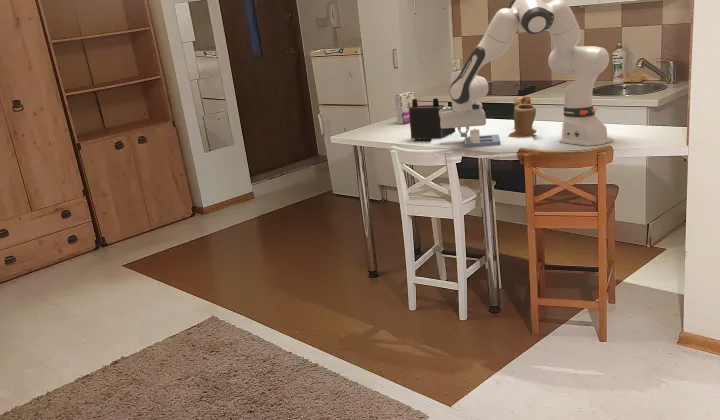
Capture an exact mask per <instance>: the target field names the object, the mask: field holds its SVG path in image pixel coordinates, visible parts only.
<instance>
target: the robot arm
mask: <svg viewBox="0 0 720 420" xmlns="http://www.w3.org/2000/svg"><path fill="white" fill-rule="evenodd" d="M521 28H522V29H523V30H524V31H525V32H526V33H527V34H530V35H537V34H538V35H539V34H541V33H542V32H545V31H546V30H548V33H549V35H550V37H551V39H552V41H553V45H554V49H553V50H552V51H551V52H550V54H549V56H548V60H547V62H548V63H547V64H548V67H549V68H550V70H551V71H552V72H554V73H558V74H568V75H569V74H573V75H574V74H576V75H575V79H574V81H573V82H571V83H568V85H567V86H566V87H565V89H564V107H563V116H564V119H563V122H562V129H561V137H560V140H559V143H562V144H563V143H564V144H570V145H579V146H586V147H590V146H598V145H604V144H605V145H606V144H608V143H611V142H614V138H613V137H610V136H608V130H607V126H606V125H605V124H604V123H603V122H602V121H601V120H600V119H599V118H598V117H597V116H596V112H597V108H594V105H593V89H594V86H595V82H596V80H597V78H598V77H599V75H600V74H602V72H604V71H605V70H606V69H607V67H608V65H609V62H610V55H609V52H608V50H607V49H606V48H604V47H600V46H594V45H588V46H587V45H585V46H577V44H578V43H579V42H580V41H581V39H582V30H581V28H580V26H579V23H578V21H577V18H576V16H575V14H574V12H573V10H572V9H571V7H570V6H569V5H568V3H567V2H566V1H564V0H551V1H549V2H544V1H543V0H512V1H511V2H510V4H509V7H508V8H507V7H504V8H503V7H502V8H500V9H498V10H497V11H496V13H495V15H493V17H492V19H491V21H490V22H489V25H488V27H487V29H486V31H485V33H484V35H483V36H482V39H480V41H479V43H478V45H477V46H476V47H475V48H474V49H473V51H472V52H471V54H470V55H469V56H468V58H467V60H466V62H465V64H464V66H463V67H462V68H461V69H457V70H453V71H452V72H451V74H450V86H449V96H450V98H451V106H448V107H446V106H445V107H444V108H442V109H440V110H439V116H440V118H441V120H440V127H441V128H442V129H444V128H455V129H457V131H458V133H459V134H460V138H465V137H468V132H469V131H470V127H482V126H485V125H486V124H487V118H486V113H485V110H484V109H483V103H481V102H480V101H479V102H478V101H476V100H480V99H483V98H485V97H487V96H488V94H489V91H490V84H489V82H488V80H487V78H485V77H484V76H480V75H477V74H478V72H479V71H480V69H481V68H483V67H484V66H485V65H486V64H488V63H489V62H491V61H493V60H496V59H498V58H500V57H501V56H503V55H505V53H506V52H507V51H508V49H509V48H510V46H511V44H512V42H513V40H514V38H515V35H516V33H517V31H519V29H521ZM462 128H465V129H466V130H465V132H462V131H461V129H462Z"/></svg>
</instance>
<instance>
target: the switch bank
mask: <svg viewBox="0 0 720 420" xmlns="http://www.w3.org/2000/svg"><path fill="white" fill-rule="evenodd" d="M491 146H501V139H500V135H499V134H481V135H480V142H471V143H470V135H469V136H467V137H464V148H476V147H491Z"/></svg>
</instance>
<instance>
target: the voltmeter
mask: <svg viewBox="0 0 720 420" xmlns="http://www.w3.org/2000/svg"><path fill="white" fill-rule="evenodd" d="M432 101H433V102H432V105H430V104H427V105H419V104H418V99H417V98H415V99H412V107H410V108H409V117H410V123H409V126H410V127H409V129H410V139H412V140H413V139H414V141H415V142H419V141H420V139H423V140H424V139H425V140H426V139H427V140H429V139H430V140H432V139H434V140H436V139H438V140H439V139H441V140H442V139H444V138H447V137H448V136H450V135H451V136H452V135H453V134H455V133H456V128H444V129H442V128H441V127H440V120H441V118H440V116H439V110H440V109H442V108H444V107H445V108H446V106H445V105H444V104H443V105H442V104H440V103H439V99H438V97H437V98H433V99H432Z"/></svg>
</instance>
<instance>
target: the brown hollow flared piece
mask: <svg viewBox="0 0 720 420" xmlns="http://www.w3.org/2000/svg"><path fill="white" fill-rule="evenodd" d="M513 109H514V108H513ZM536 114H537V108H536V106H535V105H532V104H531V105H530V104H520V105H517V106H516V107H515V109H514V110H513V123H514V122H515V127H516V130H514V131H512V132H511V133H509V134H508V135H507V136H508V137H509V138H527V137H529V136H533V135H535V134H536V133H537V130H536V129H534V128H533V124H534V121H535V118H536Z"/></svg>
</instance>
